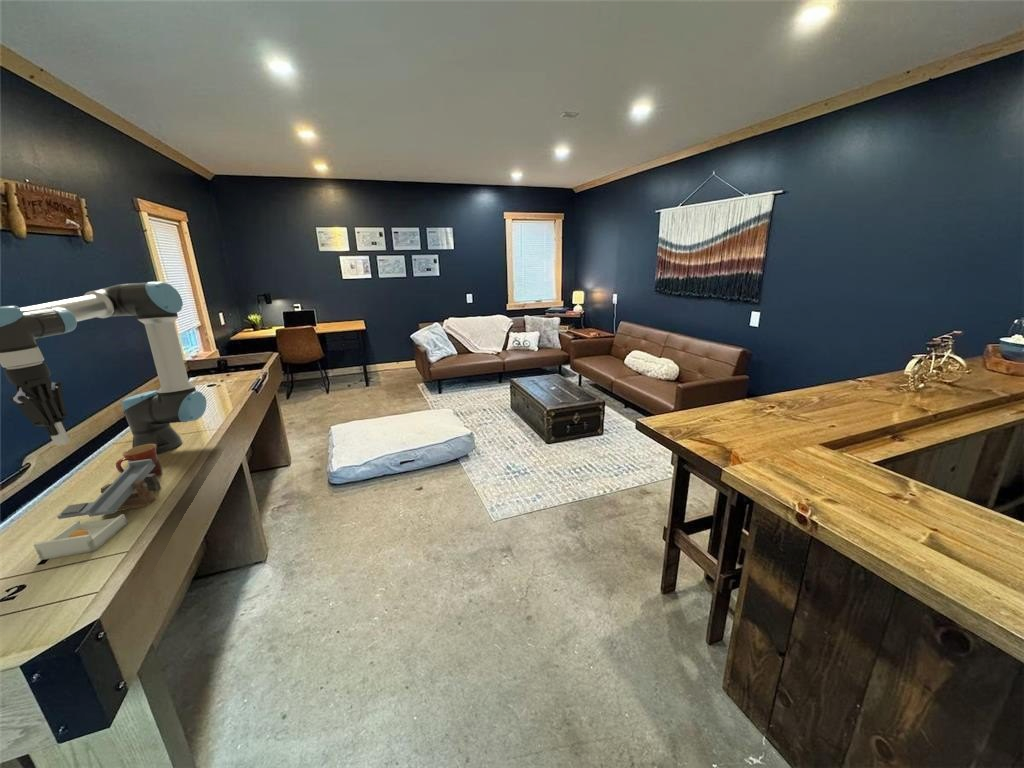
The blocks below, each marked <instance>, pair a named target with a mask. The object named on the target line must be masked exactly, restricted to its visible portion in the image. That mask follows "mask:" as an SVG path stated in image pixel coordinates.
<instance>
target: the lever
mask: <svg viewBox="0 0 1024 768" xmlns="http://www.w3.org/2000/svg"><path fill="white" fill-rule="evenodd" d="M127 464H128V466H127V467H126V468H125V469H123V470H124V471H123V472H122V473H120V474H119V476H117V478H116V479H115V480H114V481H113V482H112V483H110V484H111V485H110V486H109V487H108V488H107V489H106V490H105V491H104V492H103V493H101V494H100V495H99V497H97V498H96V499H95V500H94V501H90V502H84V503H83V502H82V503H81V502H80V503H76V504H75V503H74V504H70V505H67V506H66V507H64V509H62V511H61V512H59V514H58V515H57V516H56V518H58V519H59V520H63V519H68V518H75V517H82V516H88V517H90V518H91V517H97V516H105V515H111V514H115V513H116V512H117V510H118V509H119V507H120V506H121V505H122V504H123V503H124V502H125V500H126V499H127V498H128V497H129V496H130V495H131V494H132V493H134V491H136V488H135V486H134V483H136V482H137V481H138V480H142V479H145V477H146V476H147V475H148V474H149V473H150V472H151V471H152V469H153V468H154V467H155V464H154V463H153V461H152V459H145V460H138V461H130V462H128V463H127Z"/></svg>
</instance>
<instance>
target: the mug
mask: <svg viewBox="0 0 1024 768" xmlns="http://www.w3.org/2000/svg"><path fill="white" fill-rule="evenodd" d="M121 454H122V457H121V458H120V459H118V460H117V461H116V462H115V468H116V470H117V471H118V473H120V474H121V473H122V472H123V471H124V470H125V469H124V468H123V467H122V463H123V462H125V461H127V462H128V463H129V462H130V461H138V460H145V459H152V461H153V463H154V464H155V467H154V468H153V469H152V471H151V472H150V473H149V474H155V473H156V476H157V477H158V476H159V475H160V474H161V473H163V469H162V464H161V461H160V459H159V457H158V454H156V444H145V445H140V446H137V447H134V448H132V447H131V448H129V449H126V450H125V451H123V452H122V453H121Z"/></svg>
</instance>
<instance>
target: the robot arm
mask: <svg viewBox="0 0 1024 768" xmlns="http://www.w3.org/2000/svg"><path fill="white" fill-rule="evenodd" d="M183 306H184V305H183V299H182V296H181V295H180V293H179V291H178V290H177V289H176V288H175V287H173V286H172V285H171V284H170V283H167V282H164V281H146V282H135V283H121V284H120V283H119V284H115V285H111V286H108V287H104V288H103V287H102V288H98V289H95V290H90V291H87V292H85V293H84V294H83V295H82V296H76V297H70V298H65V299H60V300H53V301H49V302H45V303H39V304H33V305H28V306H22V307H19V306H17V305H4V306H0V366H1V367H2V368H4V370H3V373H4V374H5V377H6V378H7V381H8V382H9V383H11V384H14V385H15V392H16V394H15V396H10V397H9V401H10V402H11V403H13V404H15V405H17V407H18V408H19V409H20V410H21V411H22V413H23V414H24V415H25V416H26V417H27V419H28V420H29V421H30V422H31V424H32V425H33V426H34V427H43V428H44V429H45V431H46V433H47V435H48V436H49V437H50V438H51V440H52V442H53V444H54V446H64V445H65V446H66V445H68V444H70V443H71V440H70V438H69V436H68V435H69V434H67V432H66V430H67V429H66V427H65V423H64V422H63V421H66V420H67V419H66V417H67V416H68V412H67V407H66V403H65V400H64V395H63V391H62V389H63V383H62V382H59V381H58V382H53V380H52V379H51V378H49V377H50V376H51V373H52V372H51V371H50V369H49V367H48V365H47V363H45V362H44V361H45V357H44V355H43V353H42V351H41V349H40V348H39V345H38V343H37V341H36V340H38V339H41V338H42V339H43V338H46V337H53V336H57V335H58V336H59V335H64V334H67V333H70V332H73V331H74V330H75V329H76V328H77V325H78V322H82V321H86V320H91V319H94V318H99V319H107V318H110V317H111V318H112V317H125V316H127V317H128V316H129V317H130V316H131V317H132V316H136V319H137V321H139V322H140V323H142V324H143V325H144V328H145V331H146V335H147V339H148V343H149V346H150V349H151V353H152V358H153V362H154V366H155V369H156V374H157V376H158V381H159V384H160V387H159V389H158V390H157V389H156V390H150V391H144V392H141V393H138V394H136V395H135V394H134V395H131V396H129V397H126V398H124V399H123V400H121V404H120V405H121V407H122V413H123V415H124V417H125V419H126V422H127V424H128V427H129V429H130V432H131V434H132V447H131V448H134V447H137V446H140V445H145V444H156V454H157V455H158V454H161V453H165V452H168V451H170V450H173V449H175V448H177V447H179V446H180V445H181V444H182V443H183V440H182V437H181V436H180V435H179V434H178V432H177V431H176V430H175V429H174V428H173V427H172V425H171V424H175V423H176V424H177V423H188V422H194V421H197V420H200V418H201V417H203V415H204V414H205V412H206V409H207V398H206V396H205V394H203V392H202V391H198V390H196V386H195V385H194V384H192V383H190V381H189V380H190V379H189V377H188V373H187V369H186V365H185V361H184V356H183V353H182V348H181V344H180V340H179V337H178V332H177V328H176V325H175V324H176V323H175V322H176V320H177V319H178V318H179V316H178V313H179V312H180V311H182V309H183V308H182V307H183Z"/></svg>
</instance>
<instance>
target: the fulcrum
mask: <svg viewBox="0 0 1024 768" xmlns="http://www.w3.org/2000/svg"><path fill="white" fill-rule="evenodd" d="M111 484H112V483H107V484H105V485H103V486H102V487H101V488H100V493H101V494H102V493H103V492H104V491H105V490H106V489H107V488H108V487H109V486H110V485H111ZM134 486H135V488H136V489H135V491H136V492H132V494H131V495H130V496H129V497H128V498H127V499H126V500H125V502H124V503H123V504H122V505H121V506H120V507H119V509H118V510H117V511H124V510H131V509H132V510H133V509H138V508H145V507H148V506H149V505H151V504H152V503H153V502H154V501H155V500H156V499H157V497H156V495H155V492H157V491H159V490H160V489H161V488H162V487H161V484H160V481H159V479H158V475H157V476H156V473H155V474H148V475H147V476H146V477H145V479H142V480H138V481H137V482H136V483H134ZM117 511H116V512H117Z"/></svg>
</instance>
